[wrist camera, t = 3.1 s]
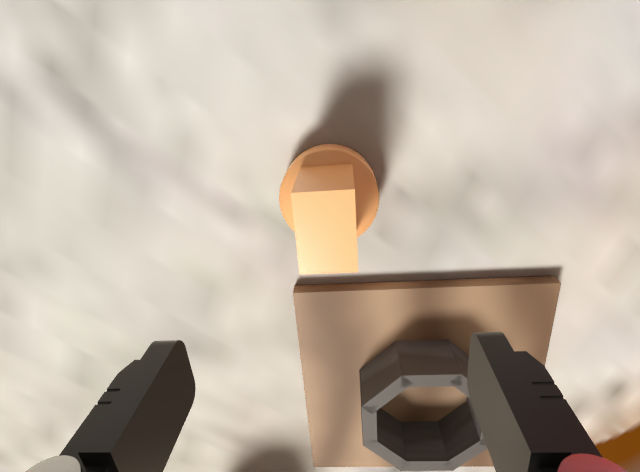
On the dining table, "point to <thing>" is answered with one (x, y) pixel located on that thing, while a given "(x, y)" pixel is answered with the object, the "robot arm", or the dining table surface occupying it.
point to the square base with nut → (408, 365)
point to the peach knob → (328, 206)
